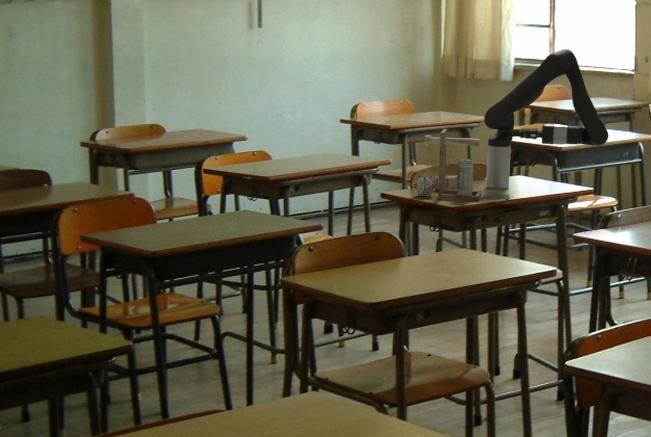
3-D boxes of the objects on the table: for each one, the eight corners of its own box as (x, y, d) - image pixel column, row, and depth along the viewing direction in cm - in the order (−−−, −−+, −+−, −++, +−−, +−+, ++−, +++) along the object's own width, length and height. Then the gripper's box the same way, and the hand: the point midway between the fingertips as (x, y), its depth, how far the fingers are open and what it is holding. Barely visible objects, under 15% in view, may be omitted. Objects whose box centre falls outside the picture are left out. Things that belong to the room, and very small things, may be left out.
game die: (427, 205, 481) (441, 184, 482) (427, 200, 472) (441, 179, 473) (408, 192, 482) (422, 171, 483) (407, 188, 474) (422, 167, 475)
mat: (484, 194, 485) (484, 193, 485) (509, 195, 483) (509, 194, 483) (482, 198, 475) (482, 197, 475) (508, 199, 473) (508, 198, 473)
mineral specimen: (456, 187, 501) (456, 172, 500) (464, 190, 495) (465, 175, 494) (428, 189, 497) (428, 174, 496) (436, 191, 490) (437, 176, 489)
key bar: (425, 144, 477) (426, 135, 476) (479, 146, 473) (480, 137, 472) (424, 145, 473) (424, 136, 472) (478, 147, 469) (479, 138, 468)
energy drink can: (475, 198, 476) (476, 160, 473) (466, 200, 471) (467, 161, 469) (462, 196, 480) (464, 158, 477) (453, 198, 475) (454, 159, 472)
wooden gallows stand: (441, 194, 483) (443, 128, 479) (480, 196, 481) (483, 130, 476) (438, 199, 471) (440, 132, 466) (478, 201, 468) (481, 134, 463)
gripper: (555, 122, 473) (510, 121, 476) (554, 126, 459) (509, 124, 462) (554, 142, 474) (509, 140, 477) (553, 146, 460) (508, 144, 463)
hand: (509, 132), depth 470 cm, fingers open, 4 cm apart
